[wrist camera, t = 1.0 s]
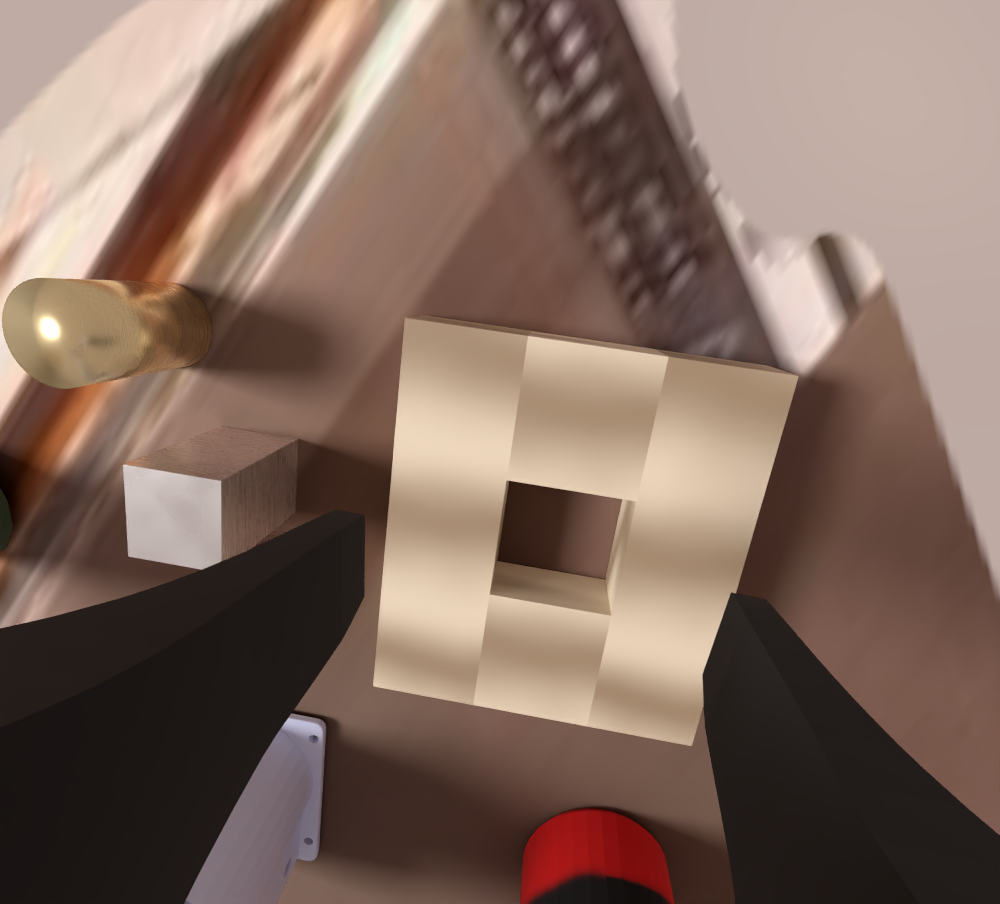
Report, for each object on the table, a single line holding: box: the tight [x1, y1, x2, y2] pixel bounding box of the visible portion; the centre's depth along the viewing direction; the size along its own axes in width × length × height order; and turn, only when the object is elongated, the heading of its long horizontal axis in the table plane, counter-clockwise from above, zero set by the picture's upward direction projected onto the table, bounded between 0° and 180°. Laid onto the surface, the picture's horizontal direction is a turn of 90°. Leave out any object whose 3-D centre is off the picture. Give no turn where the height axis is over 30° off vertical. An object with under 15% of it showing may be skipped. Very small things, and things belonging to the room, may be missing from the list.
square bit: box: [123, 426, 298, 570], centre depth 23 cm, size 4×4×6 cm
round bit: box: [2, 278, 212, 389], centre depth 21 cm, size 4×4×6 cm
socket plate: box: [373, 315, 799, 746], centre depth 23 cm, size 16×14×3 cm
